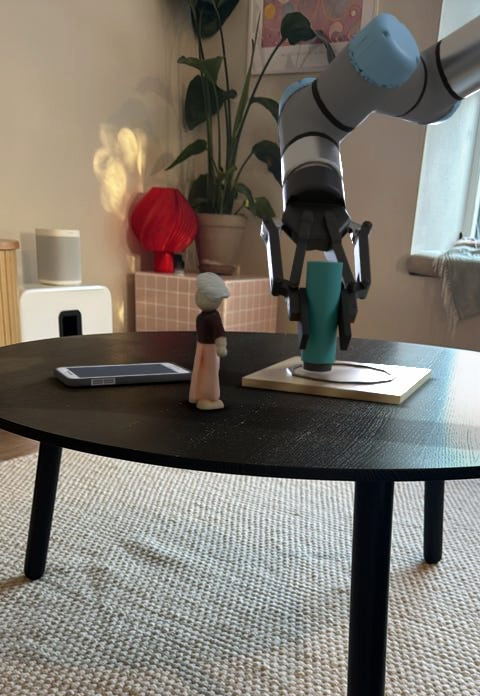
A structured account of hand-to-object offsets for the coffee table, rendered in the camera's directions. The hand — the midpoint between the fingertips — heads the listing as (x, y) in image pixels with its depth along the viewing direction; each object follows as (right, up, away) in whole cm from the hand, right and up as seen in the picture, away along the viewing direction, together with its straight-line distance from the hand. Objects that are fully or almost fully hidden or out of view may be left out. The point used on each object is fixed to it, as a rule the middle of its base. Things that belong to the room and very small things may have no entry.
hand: (325, 342), depth 84 cm
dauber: (0, -2, +5) cm, 5 cm away
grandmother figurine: (-13, -9, -9) cm, 18 cm away
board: (+2, -3, +6) cm, 7 cm away
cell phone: (-23, -4, +2) cm, 23 cm away
